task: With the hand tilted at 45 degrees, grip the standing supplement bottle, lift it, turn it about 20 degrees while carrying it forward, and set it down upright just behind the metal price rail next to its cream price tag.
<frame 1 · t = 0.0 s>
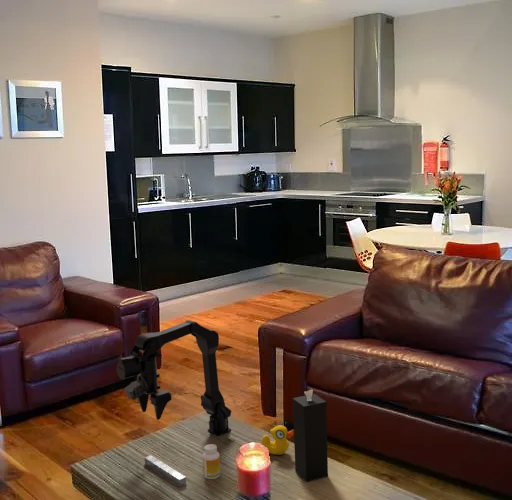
hand: (151, 415, 215), 15 cm above the table, tool pointing down, fingers open, 9 cm apart
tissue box: (311, 474, 201), on the table
price rail: (164, 474, 204), on the table
supplement bottle: (212, 475, 202), on the table
duckling: (277, 454, 215), on the table
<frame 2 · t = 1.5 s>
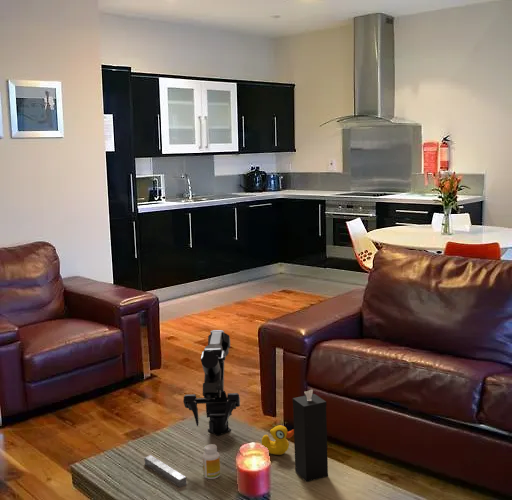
hand: (211, 425, 209), 13 cm above the table, tool tilted 45°, fingers open, 9 cm apart
nothing on the table moved.
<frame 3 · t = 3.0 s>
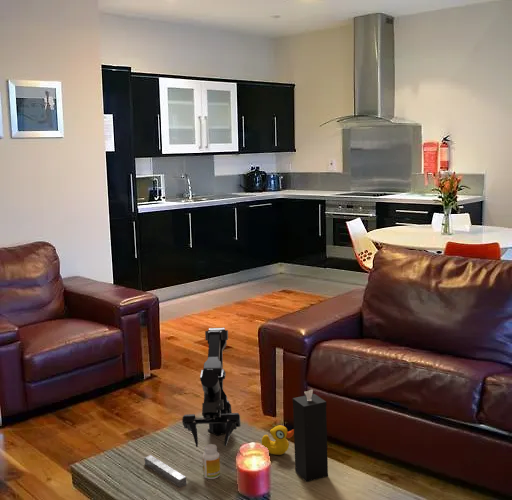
hand: (211, 446, 203), 9 cm above the table, tool tilted 45°, fingers open, 9 cm apart
nothing on the table moved.
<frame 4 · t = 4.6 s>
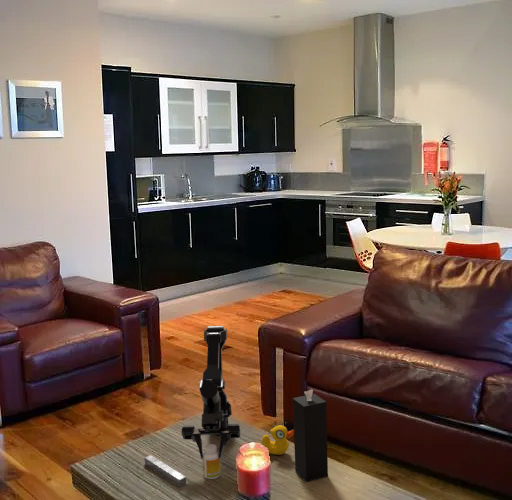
hand: (210, 457, 200), 7 cm above the table, tool tilted 45°, fingers closed on supplement bottle, 5 cm apart
supplement bottle: (212, 475, 202), on the table, touching gripper
everything else where it was.
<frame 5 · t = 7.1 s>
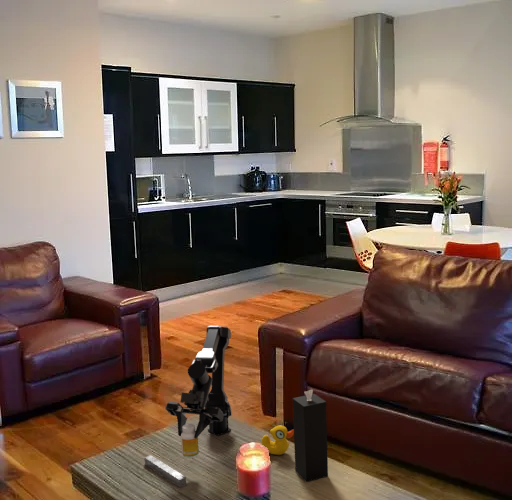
hand: (187, 437, 201), 13 cm above the table, tool tilted 45°, fingers closed on supplement bottle, 5 cm apart
supplement bottle: (190, 455, 203), point 6 cm above the table, touching gripper
everything else where it was.
when the fingers open (8 cm above the table, at t = 9.2 s): supplement bottle drops 1 cm, on the table.
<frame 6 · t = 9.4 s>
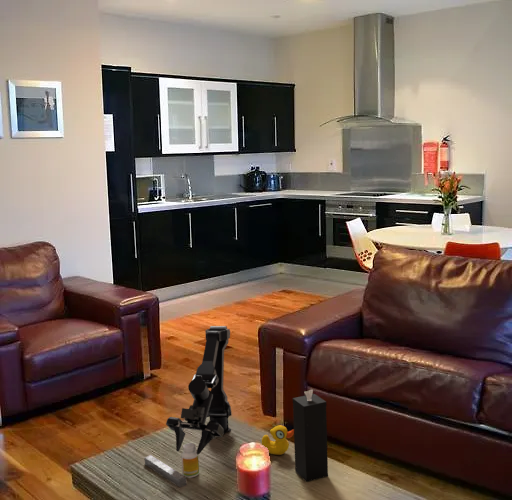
hand: (187, 452, 201), 8 cm above the table, tool tilted 45°, fingers open, 7 cm apart
supplement bottle: (190, 474, 204), on the table
everything else where it was.
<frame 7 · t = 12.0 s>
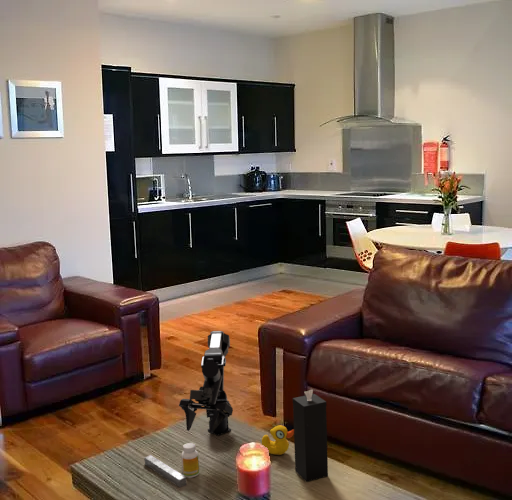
hand: (199, 431, 211), 11 cm above the table, tool tilted 40°, fingers open, 9 cm apart
nothing on the table moved.
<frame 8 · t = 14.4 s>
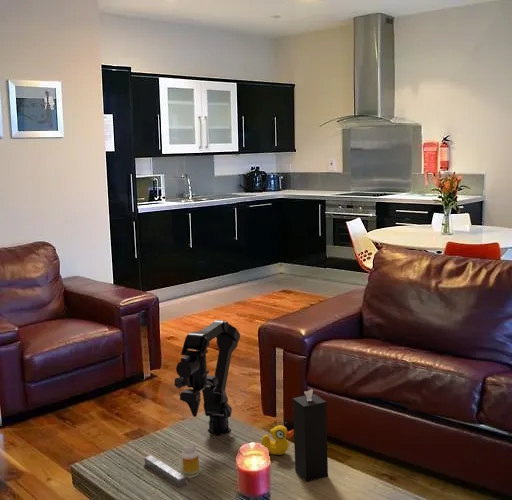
hand: (200, 411, 221), 13 cm above the table, tool pointing down, fingers open, 9 cm apart
nothing on the table moved.
at the end: supplement bottle 0.4 cm from the target spot, on the table; supplement bottle tilted 0°; the gripper is holding nothing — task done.
